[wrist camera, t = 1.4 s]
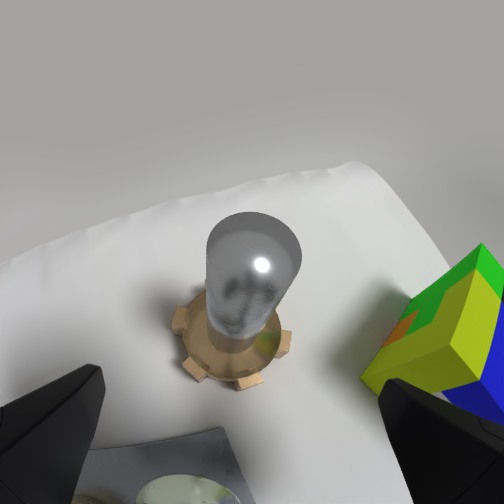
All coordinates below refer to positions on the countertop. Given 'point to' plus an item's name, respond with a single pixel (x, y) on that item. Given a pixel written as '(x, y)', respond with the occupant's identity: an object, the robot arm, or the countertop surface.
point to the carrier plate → (164, 473)
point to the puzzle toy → (452, 339)
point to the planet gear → (240, 300)
